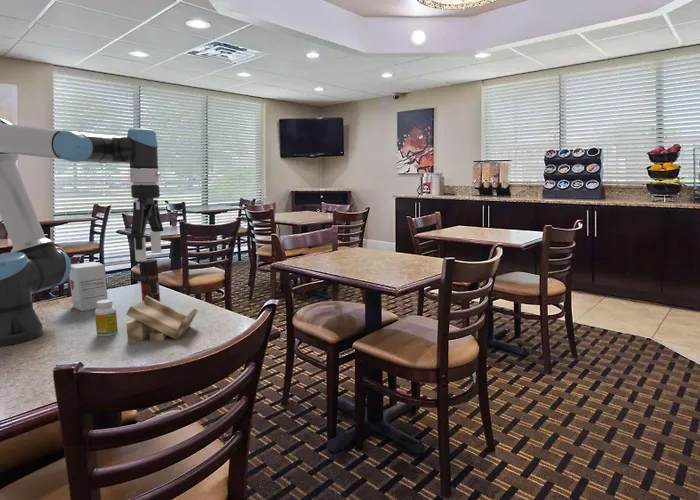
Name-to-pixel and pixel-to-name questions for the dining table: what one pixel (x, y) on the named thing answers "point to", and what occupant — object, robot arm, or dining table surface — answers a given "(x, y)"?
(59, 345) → the dining table surface
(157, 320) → the cradle
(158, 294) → the deodorant
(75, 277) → the supplement box
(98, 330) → the supplement bottle
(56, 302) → the dining table surface
